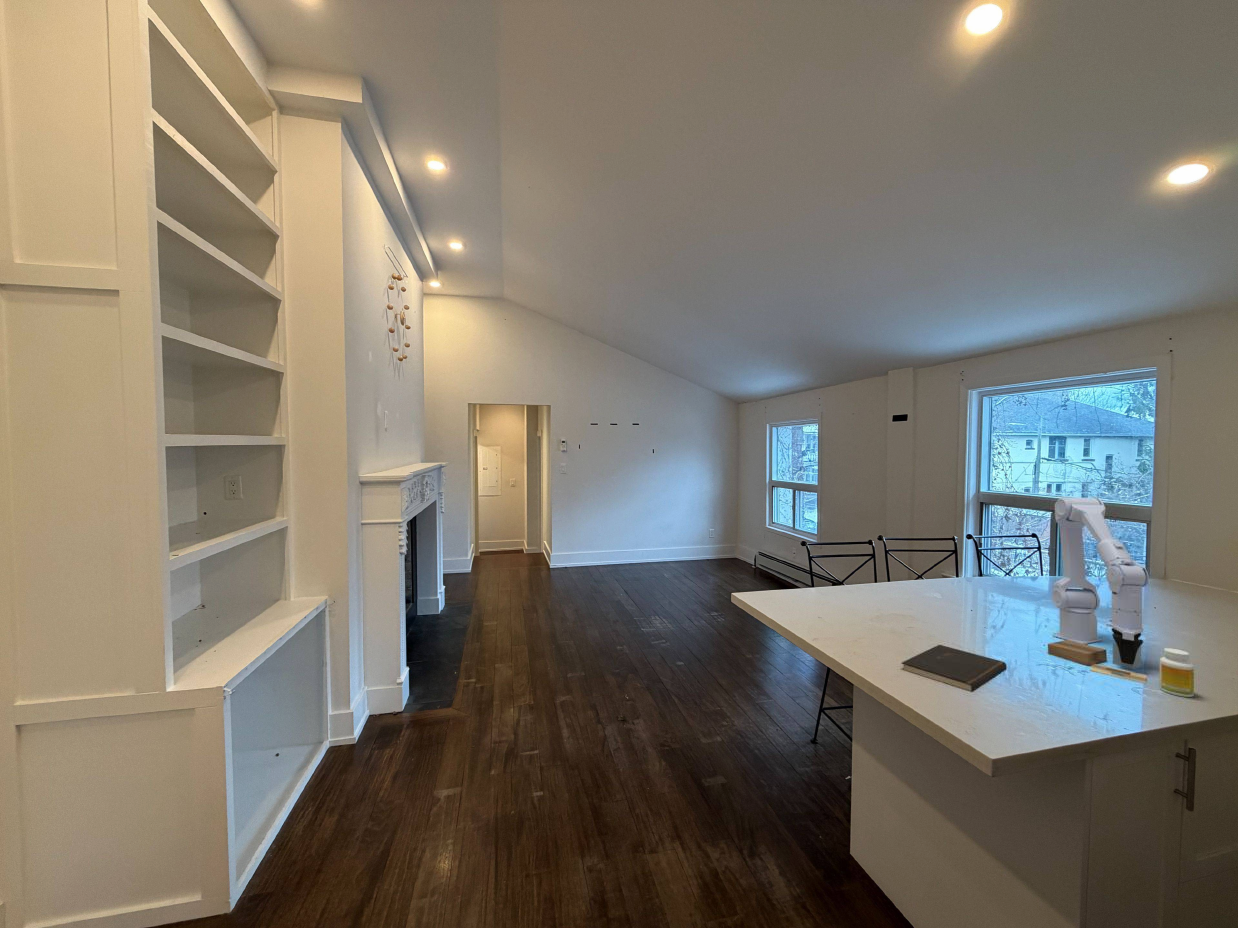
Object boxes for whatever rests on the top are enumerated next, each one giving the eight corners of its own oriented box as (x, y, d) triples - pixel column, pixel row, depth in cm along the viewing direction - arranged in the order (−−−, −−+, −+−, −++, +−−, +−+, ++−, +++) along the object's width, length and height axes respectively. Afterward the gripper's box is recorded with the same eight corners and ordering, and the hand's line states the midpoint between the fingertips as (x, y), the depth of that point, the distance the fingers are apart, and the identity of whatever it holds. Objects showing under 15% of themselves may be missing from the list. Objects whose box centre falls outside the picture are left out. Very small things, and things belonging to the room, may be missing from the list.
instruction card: (1092, 663, 133) (1092, 662, 133) (1146, 675, 125) (1146, 674, 125) (1089, 670, 128) (1089, 669, 128) (1145, 683, 121) (1145, 682, 121)
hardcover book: (901, 671, 129) (901, 662, 129) (939, 652, 142) (939, 644, 142) (972, 694, 116) (972, 684, 116) (1006, 671, 129) (1006, 662, 129)
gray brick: (1121, 661, 135) (1121, 641, 135) (1140, 667, 131) (1140, 646, 131) (1112, 663, 133) (1112, 643, 133) (1132, 669, 129) (1132, 648, 129)
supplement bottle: (1198, 699, 112) (1198, 657, 113) (1164, 693, 115) (1164, 652, 115) (1188, 690, 117) (1187, 649, 117) (1155, 685, 120) (1155, 645, 120)
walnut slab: (1067, 650, 143) (1066, 639, 143) (1106, 660, 135) (1106, 649, 135) (1048, 654, 140) (1047, 643, 140) (1087, 665, 131) (1087, 653, 131)
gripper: (1105, 601, 140) (1105, 649, 140) (1106, 611, 130) (1106, 663, 129) (1141, 606, 135) (1141, 655, 135) (1145, 617, 125) (1145, 671, 125)
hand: (1126, 660), depth 132 cm, fingers closed on gray brick, 5 cm apart
